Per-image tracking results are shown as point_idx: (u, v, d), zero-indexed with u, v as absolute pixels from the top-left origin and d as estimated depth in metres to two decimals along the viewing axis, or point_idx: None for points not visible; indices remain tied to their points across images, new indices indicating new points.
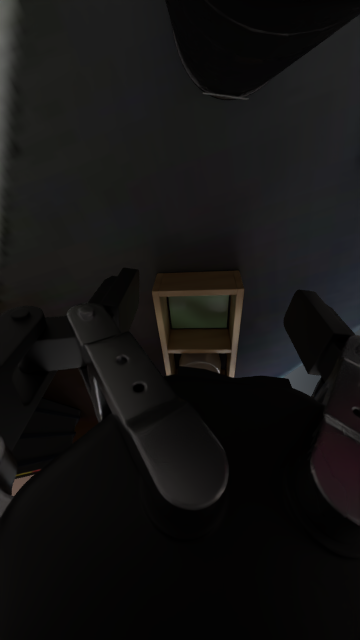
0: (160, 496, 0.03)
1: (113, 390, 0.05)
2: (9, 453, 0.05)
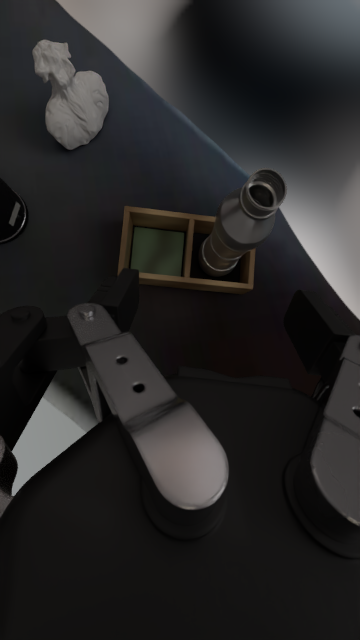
0: (160, 496, 0.03)
1: (113, 390, 0.05)
2: (9, 453, 0.05)
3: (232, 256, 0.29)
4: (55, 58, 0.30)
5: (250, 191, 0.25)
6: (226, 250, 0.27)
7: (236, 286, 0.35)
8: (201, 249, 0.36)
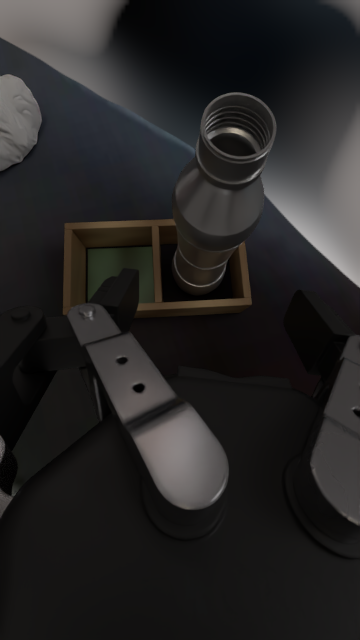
0: (160, 495, 0.03)
1: (113, 390, 0.05)
2: (9, 453, 0.05)
3: (211, 263, 0.20)
4: None
5: None
6: (199, 254, 0.18)
7: (228, 304, 0.25)
8: (173, 262, 0.26)
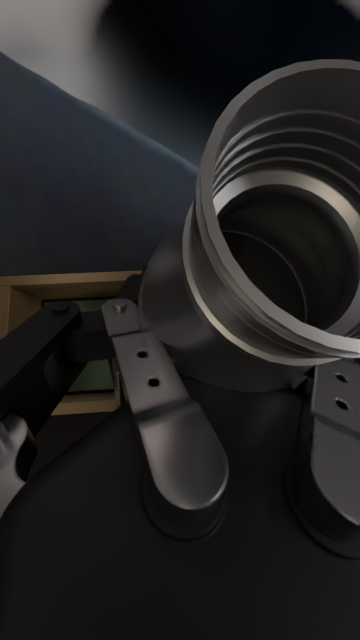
0: (156, 488, 0.03)
1: (130, 381, 0.05)
2: (30, 439, 0.05)
3: None
4: None
5: (234, 216, 0.08)
6: None
7: None
8: None
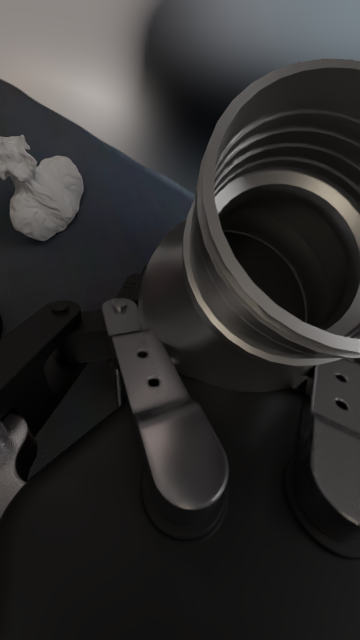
0: (155, 489, 0.03)
1: (129, 381, 0.05)
2: (30, 439, 0.05)
3: None
4: (10, 154, 0.25)
5: (235, 216, 0.08)
6: None
7: None
8: None
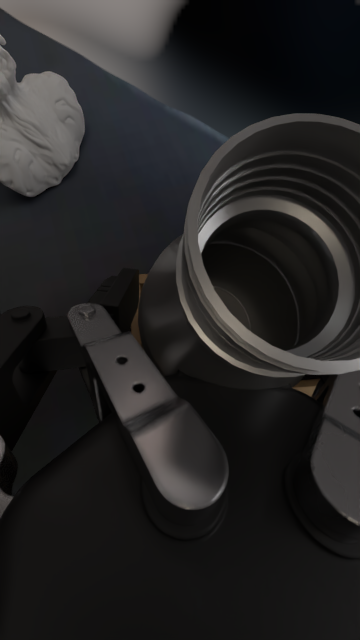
0: (160, 496, 0.03)
1: (113, 390, 0.05)
2: (9, 453, 0.05)
3: None
4: None
5: None
6: None
7: None
8: None
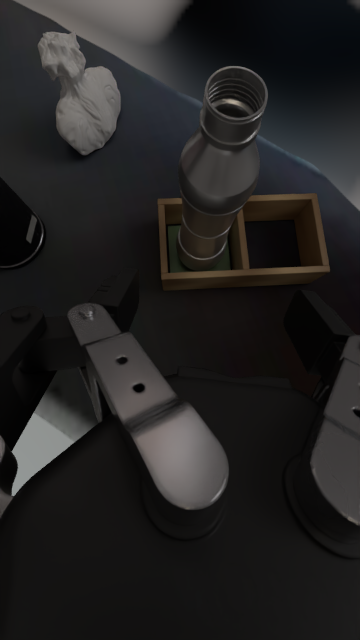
0: (160, 496, 0.03)
1: (113, 390, 0.05)
2: (9, 453, 0.05)
3: (213, 230, 0.22)
4: (63, 47, 0.26)
5: None
6: (202, 220, 0.20)
7: (309, 271, 0.28)
8: (177, 238, 0.29)
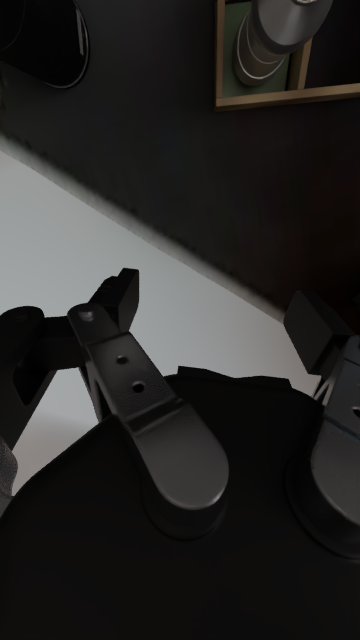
0: (160, 496, 0.03)
1: (113, 390, 0.05)
2: (9, 453, 0.05)
3: (274, 59, 0.23)
4: None
5: None
6: (266, 54, 0.22)
7: None
8: (236, 44, 0.27)
